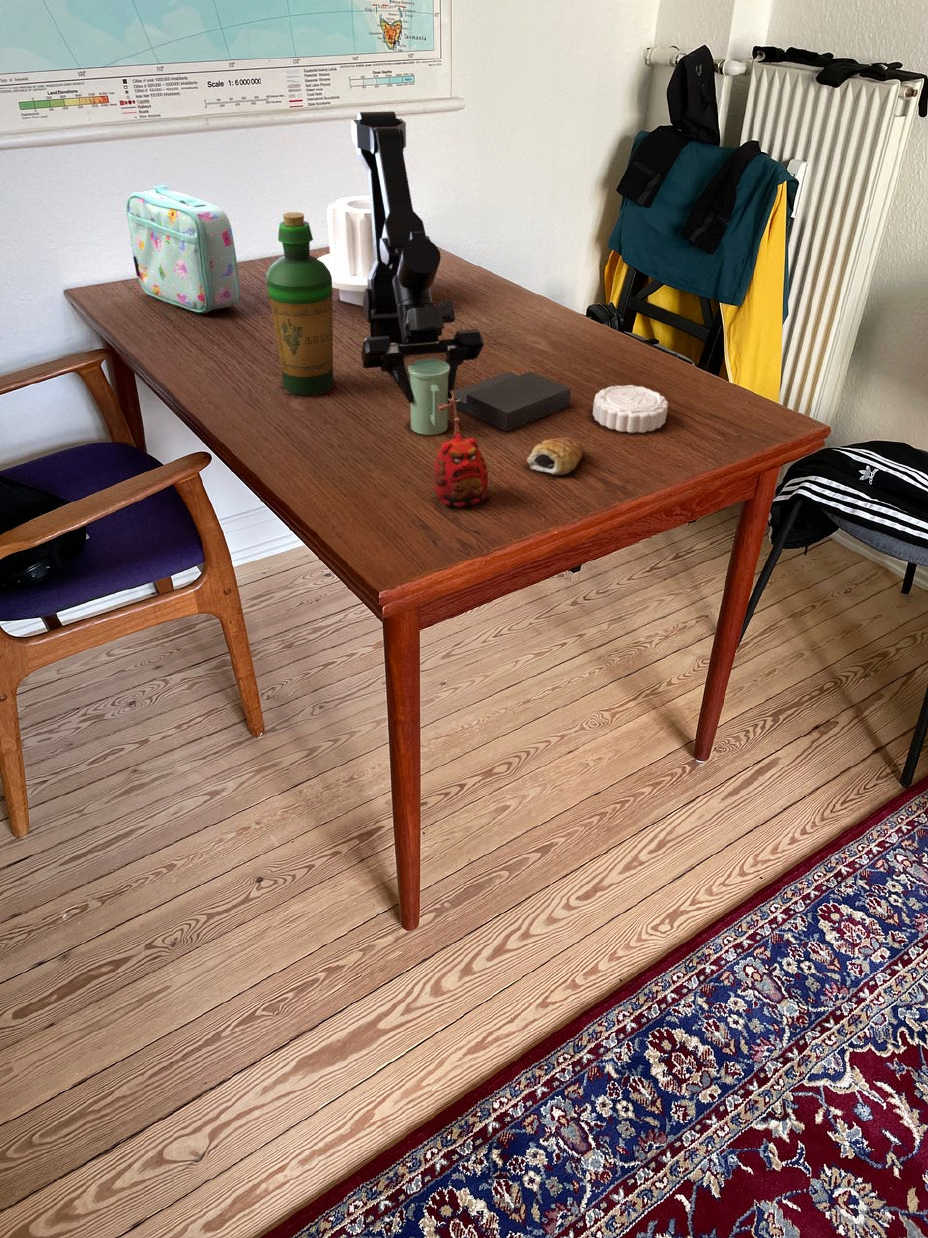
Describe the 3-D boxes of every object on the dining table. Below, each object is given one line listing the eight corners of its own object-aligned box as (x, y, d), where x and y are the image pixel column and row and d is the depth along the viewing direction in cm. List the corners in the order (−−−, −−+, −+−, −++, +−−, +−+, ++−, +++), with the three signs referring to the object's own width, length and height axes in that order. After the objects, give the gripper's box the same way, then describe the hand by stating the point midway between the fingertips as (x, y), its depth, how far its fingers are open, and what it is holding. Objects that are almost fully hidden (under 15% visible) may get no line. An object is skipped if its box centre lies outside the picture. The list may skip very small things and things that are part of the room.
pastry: (555, 445, 141) (557, 422, 139) (593, 457, 138) (596, 434, 136) (523, 468, 135) (525, 444, 133) (562, 481, 132) (565, 458, 130)
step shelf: (446, 402, 153) (446, 384, 151) (508, 379, 161) (509, 362, 159) (506, 431, 144) (507, 413, 142) (569, 406, 153) (571, 388, 151)
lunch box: (130, 292, 194) (108, 183, 180) (171, 281, 200) (152, 175, 187) (207, 323, 180) (189, 208, 167) (248, 310, 186) (234, 198, 173)
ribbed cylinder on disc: (453, 294, 197) (454, 200, 185) (384, 327, 180) (381, 227, 168) (361, 273, 207) (356, 183, 196) (288, 303, 190) (278, 206, 179)
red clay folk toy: (445, 514, 124) (446, 413, 115) (425, 491, 129) (424, 391, 120) (495, 503, 127) (499, 403, 117) (473, 480, 132) (476, 382, 122)
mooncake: (680, 423, 148) (684, 402, 146) (624, 439, 143) (627, 418, 141) (632, 396, 156) (635, 376, 154) (577, 411, 151) (579, 391, 149)
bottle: (289, 404, 151) (270, 227, 134) (269, 380, 158) (249, 210, 141) (349, 393, 155) (338, 219, 138) (326, 370, 162) (314, 203, 145)
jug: (405, 419, 147) (404, 360, 141) (444, 416, 149) (444, 357, 142) (416, 443, 141) (415, 382, 135) (457, 439, 142) (458, 378, 136)
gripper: (360, 284, 133) (377, 385, 131) (482, 276, 137) (500, 374, 135) (354, 319, 144) (370, 413, 142) (468, 311, 148) (484, 402, 146)
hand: (431, 400), depth 141 cm, fingers closed on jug, 6 cm apart
